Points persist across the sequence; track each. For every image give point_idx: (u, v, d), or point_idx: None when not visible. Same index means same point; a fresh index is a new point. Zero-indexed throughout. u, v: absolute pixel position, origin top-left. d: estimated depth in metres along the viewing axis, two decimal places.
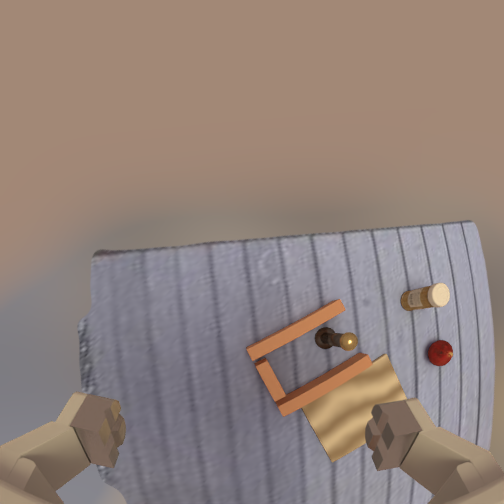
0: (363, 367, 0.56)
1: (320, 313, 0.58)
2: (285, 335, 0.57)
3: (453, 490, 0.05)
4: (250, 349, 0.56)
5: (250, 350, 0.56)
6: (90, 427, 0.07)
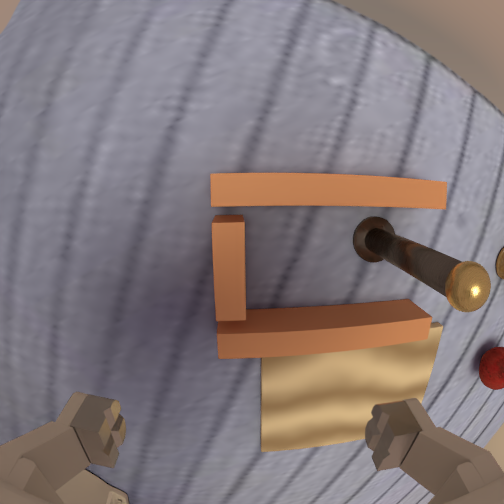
0: (412, 336, 0.27)
1: (403, 183, 0.23)
2: (313, 187, 0.23)
3: (453, 490, 0.05)
4: (219, 177, 0.23)
5: (218, 179, 0.23)
6: (90, 427, 0.07)
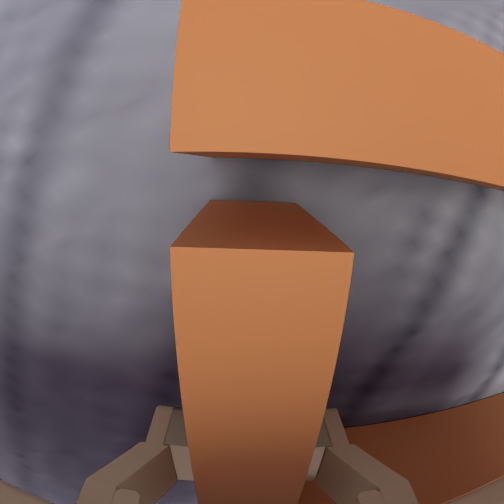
0: None
1: None
2: None
3: None
4: (230, 1, 0.03)
5: (222, 11, 0.03)
6: None
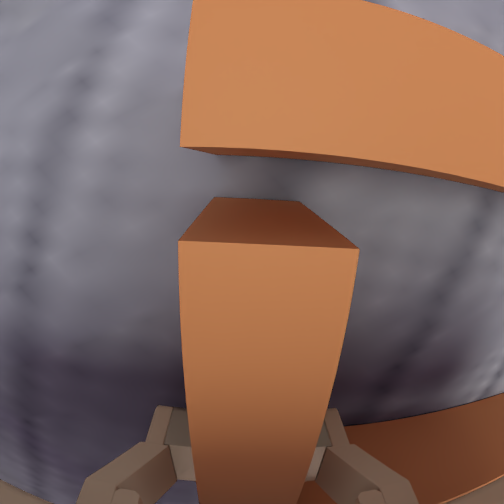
0: None
1: None
2: None
3: None
4: (241, 0, 0.03)
5: (234, 9, 0.03)
6: (189, 443, 0.07)
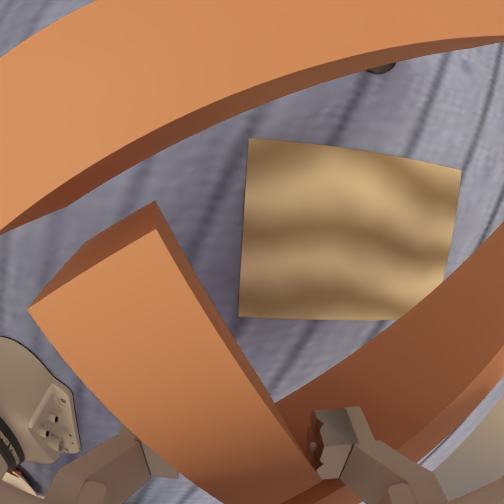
0: None
1: None
2: None
3: None
4: None
5: None
6: None
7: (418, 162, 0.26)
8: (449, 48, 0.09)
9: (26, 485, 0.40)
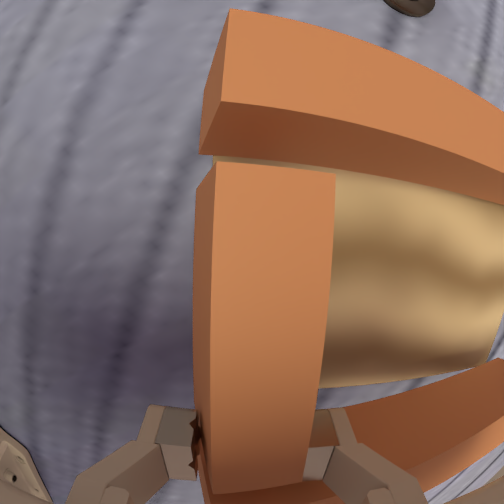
0: None
1: None
2: (474, 120, 0.07)
3: None
4: (258, 22, 0.05)
5: (253, 27, 0.05)
6: (179, 442, 0.07)
7: None
8: (503, 197, 0.12)
9: None
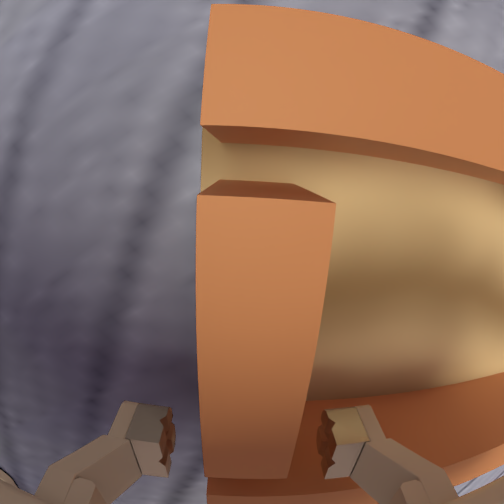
0: None
1: None
2: None
3: None
4: (246, 17, 0.04)
5: (240, 24, 0.04)
6: (148, 438, 0.07)
7: None
8: None
9: None
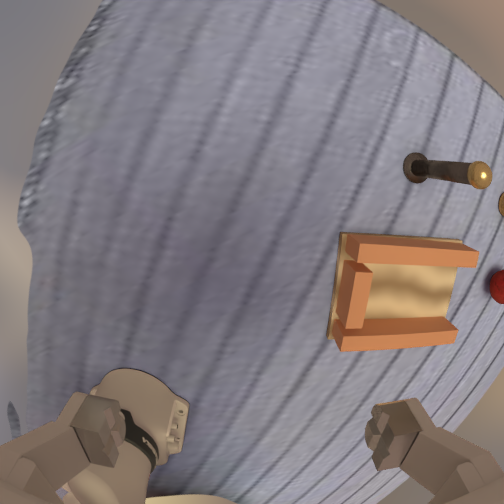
0: (446, 340, 0.41)
1: (456, 253, 0.37)
2: (411, 254, 0.37)
3: (453, 490, 0.05)
4: (364, 246, 0.36)
5: (363, 247, 0.36)
6: (90, 427, 0.07)
7: (436, 240, 0.42)
8: None
9: None
